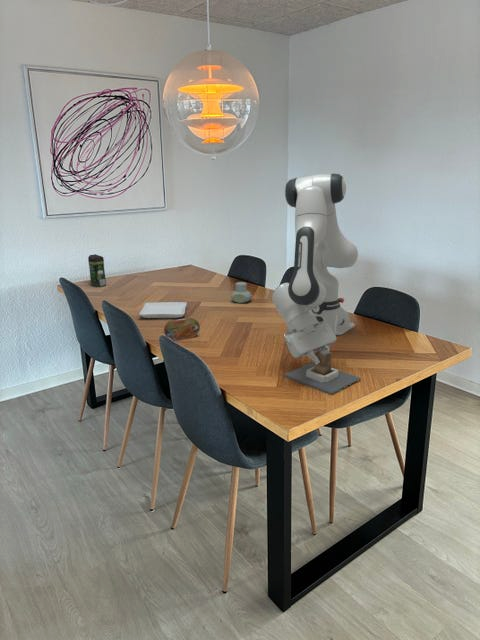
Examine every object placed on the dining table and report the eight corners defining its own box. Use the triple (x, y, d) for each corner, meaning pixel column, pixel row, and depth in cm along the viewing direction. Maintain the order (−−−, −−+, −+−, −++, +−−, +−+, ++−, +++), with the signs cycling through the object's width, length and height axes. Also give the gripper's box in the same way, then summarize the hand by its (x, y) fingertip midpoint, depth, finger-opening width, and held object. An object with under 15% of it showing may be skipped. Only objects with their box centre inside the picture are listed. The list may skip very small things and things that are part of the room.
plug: (321, 369, 171) (322, 347, 168) (330, 373, 168) (331, 351, 165) (313, 373, 168) (314, 350, 166) (323, 376, 165) (324, 354, 163)
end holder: (314, 363, 181) (314, 356, 180) (360, 380, 167) (361, 372, 166) (284, 376, 170) (284, 368, 170) (331, 395, 156) (331, 387, 155)
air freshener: (229, 303, 259) (228, 284, 256) (233, 299, 266) (232, 280, 263) (249, 304, 256) (249, 285, 253) (253, 300, 264) (253, 281, 261)
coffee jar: (89, 285, 301) (85, 254, 295) (101, 283, 306) (98, 253, 300) (95, 288, 294) (92, 256, 288) (108, 285, 299) (105, 255, 293)
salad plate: (187, 307, 253) (187, 301, 252) (184, 320, 233) (184, 313, 232) (145, 308, 253) (145, 302, 252) (139, 321, 232) (138, 314, 231)
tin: (166, 342, 204) (164, 322, 202) (163, 340, 207) (162, 320, 204) (200, 336, 210) (199, 317, 208) (197, 334, 213) (196, 315, 210)
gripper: (287, 328, 161) (309, 365, 157) (326, 315, 174) (348, 348, 170) (276, 338, 166) (298, 374, 162) (316, 324, 179) (336, 357, 175)
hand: (324, 361), depth 166 cm, fingers closed on plug, 4 cm apart
